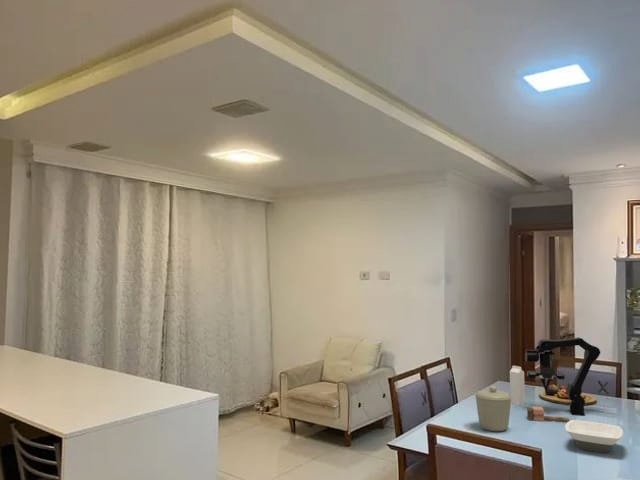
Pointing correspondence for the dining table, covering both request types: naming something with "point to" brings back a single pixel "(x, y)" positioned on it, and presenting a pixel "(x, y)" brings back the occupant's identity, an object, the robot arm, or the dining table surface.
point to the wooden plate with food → (563, 396)
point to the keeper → (538, 413)
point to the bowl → (594, 435)
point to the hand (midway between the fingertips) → (545, 390)
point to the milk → (517, 385)
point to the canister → (493, 409)
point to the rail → (546, 417)
